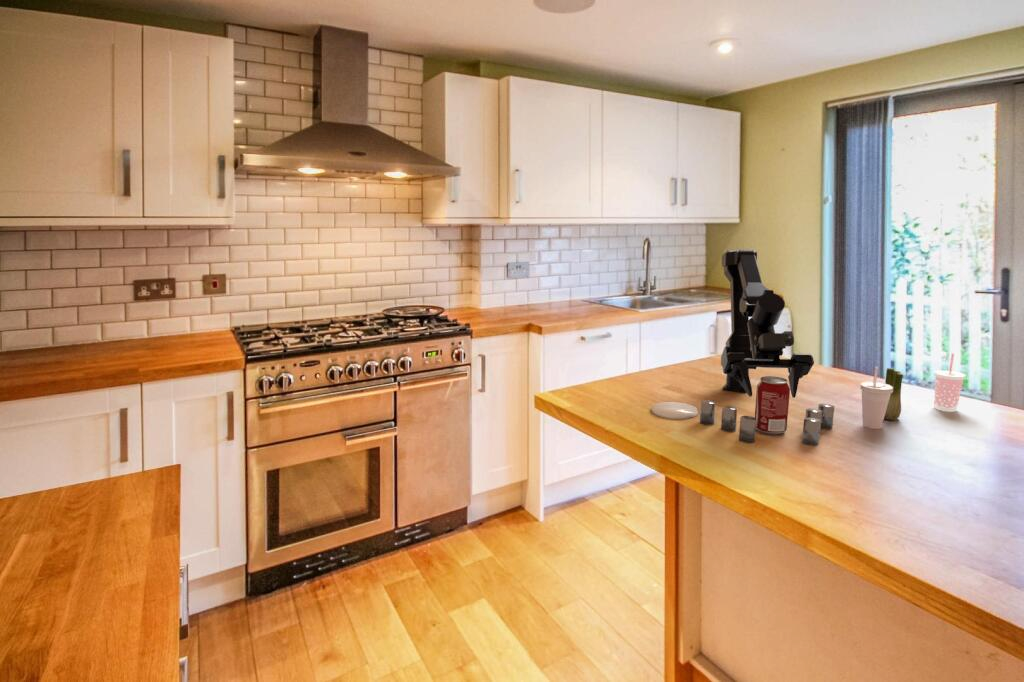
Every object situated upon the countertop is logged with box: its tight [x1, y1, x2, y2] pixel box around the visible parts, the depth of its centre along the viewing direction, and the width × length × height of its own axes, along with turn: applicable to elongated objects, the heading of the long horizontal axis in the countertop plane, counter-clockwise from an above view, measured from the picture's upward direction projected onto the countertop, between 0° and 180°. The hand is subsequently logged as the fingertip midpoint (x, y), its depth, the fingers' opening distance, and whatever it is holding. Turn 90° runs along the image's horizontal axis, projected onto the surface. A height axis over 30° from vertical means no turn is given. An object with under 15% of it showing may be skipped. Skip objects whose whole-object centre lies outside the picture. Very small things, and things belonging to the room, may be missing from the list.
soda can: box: [754, 375, 791, 436], centre depth 136 cm, size 7×7×12 cm
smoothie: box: [859, 366, 893, 430], centre depth 138 cm, size 6×6×14 cm
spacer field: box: [699, 399, 835, 446], centre depth 135 cm, size 14×29×5 cm, turn 82°
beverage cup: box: [933, 352, 966, 413], centre depth 149 cm, size 6×6×14 cm
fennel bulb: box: [884, 367, 904, 421], centre depth 143 cm, size 6×5×12 cm
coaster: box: [651, 401, 699, 420], centre depth 151 cm, size 11×11×1 cm
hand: (772, 396), depth 135 cm, fingers open, 9 cm apart
